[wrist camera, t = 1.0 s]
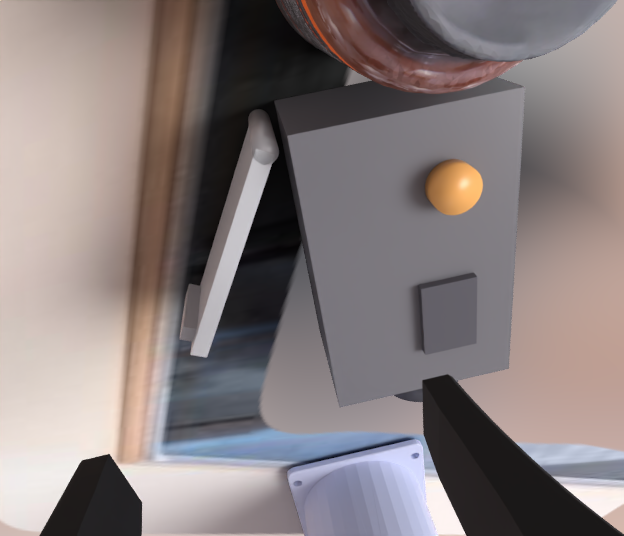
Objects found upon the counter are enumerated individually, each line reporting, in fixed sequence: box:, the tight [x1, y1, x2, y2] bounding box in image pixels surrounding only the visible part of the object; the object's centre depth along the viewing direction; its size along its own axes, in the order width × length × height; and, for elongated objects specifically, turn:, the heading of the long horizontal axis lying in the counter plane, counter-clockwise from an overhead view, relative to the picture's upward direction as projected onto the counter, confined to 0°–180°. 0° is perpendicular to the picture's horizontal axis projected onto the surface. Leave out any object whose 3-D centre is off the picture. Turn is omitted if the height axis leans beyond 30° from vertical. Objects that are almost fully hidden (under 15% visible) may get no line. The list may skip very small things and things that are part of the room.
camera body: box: [274, 77, 525, 407], centre depth 19 cm, size 13×7×6 cm, turn 9°
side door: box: [179, 109, 279, 358], centre depth 18 cm, size 8×1×4 cm, turn 159°
